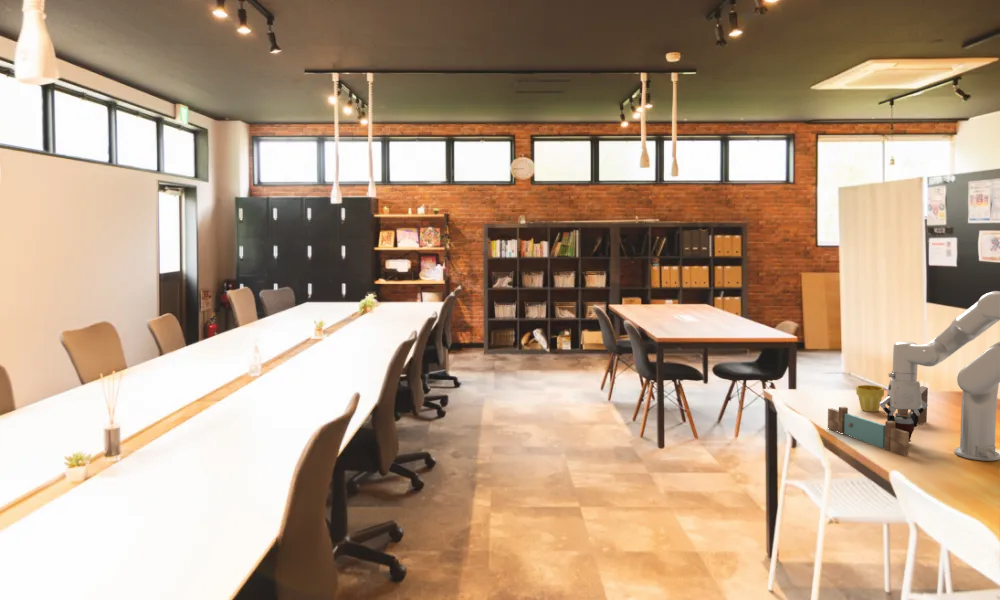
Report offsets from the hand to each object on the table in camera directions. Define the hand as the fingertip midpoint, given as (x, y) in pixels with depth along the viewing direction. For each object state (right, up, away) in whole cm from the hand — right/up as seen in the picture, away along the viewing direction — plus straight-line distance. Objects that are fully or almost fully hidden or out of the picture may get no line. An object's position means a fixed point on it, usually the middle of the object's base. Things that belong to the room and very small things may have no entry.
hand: (902, 425), depth 244 cm
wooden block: (+20, -4, +28) cm, 34 cm away
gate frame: (-12, -6, +3) cm, 13 cm away
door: (-12, -6, +4) cm, 14 cm away
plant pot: (+14, -2, +48) cm, 50 cm away
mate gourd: (+1, -5, 0) cm, 5 cm away
